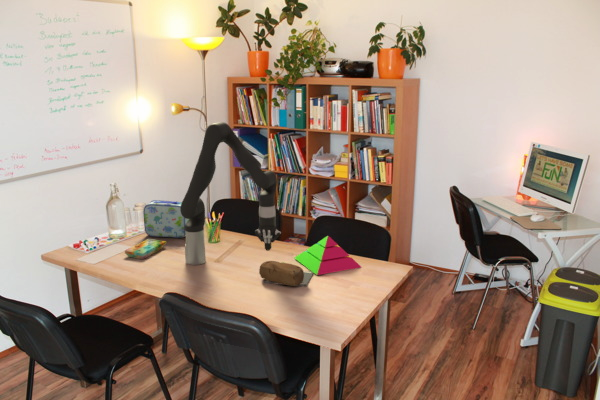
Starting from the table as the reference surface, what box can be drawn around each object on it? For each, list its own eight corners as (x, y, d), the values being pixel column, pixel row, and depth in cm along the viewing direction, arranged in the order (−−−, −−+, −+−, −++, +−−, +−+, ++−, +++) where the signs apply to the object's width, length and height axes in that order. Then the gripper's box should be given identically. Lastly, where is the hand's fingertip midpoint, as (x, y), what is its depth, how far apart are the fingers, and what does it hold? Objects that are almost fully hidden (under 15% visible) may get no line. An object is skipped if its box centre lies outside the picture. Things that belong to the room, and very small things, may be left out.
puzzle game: (124, 249, 276) (148, 237, 294) (125, 257, 277) (149, 245, 295) (143, 252, 272) (166, 239, 290) (144, 260, 273) (166, 247, 291)
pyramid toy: (336, 251, 284) (337, 225, 280) (361, 267, 262) (363, 239, 258) (294, 257, 273) (294, 231, 269) (316, 275, 251) (317, 246, 248)
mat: (263, 282, 245) (263, 281, 245) (273, 269, 260) (273, 268, 260) (306, 286, 240) (306, 285, 240) (313, 272, 255) (313, 271, 255)
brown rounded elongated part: (257, 279, 246) (294, 288, 237) (257, 263, 245) (294, 272, 235) (270, 272, 256) (306, 281, 246) (271, 257, 254) (307, 265, 244)
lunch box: (193, 233, 313) (191, 199, 308) (186, 239, 303) (184, 204, 298) (151, 231, 318) (149, 197, 312) (143, 237, 307) (140, 202, 302)
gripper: (250, 216, 242) (252, 251, 247) (278, 217, 239) (279, 254, 244) (256, 211, 249) (257, 246, 254) (283, 213, 246) (283, 248, 251)
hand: (268, 250), depth 249 cm, fingers closed
